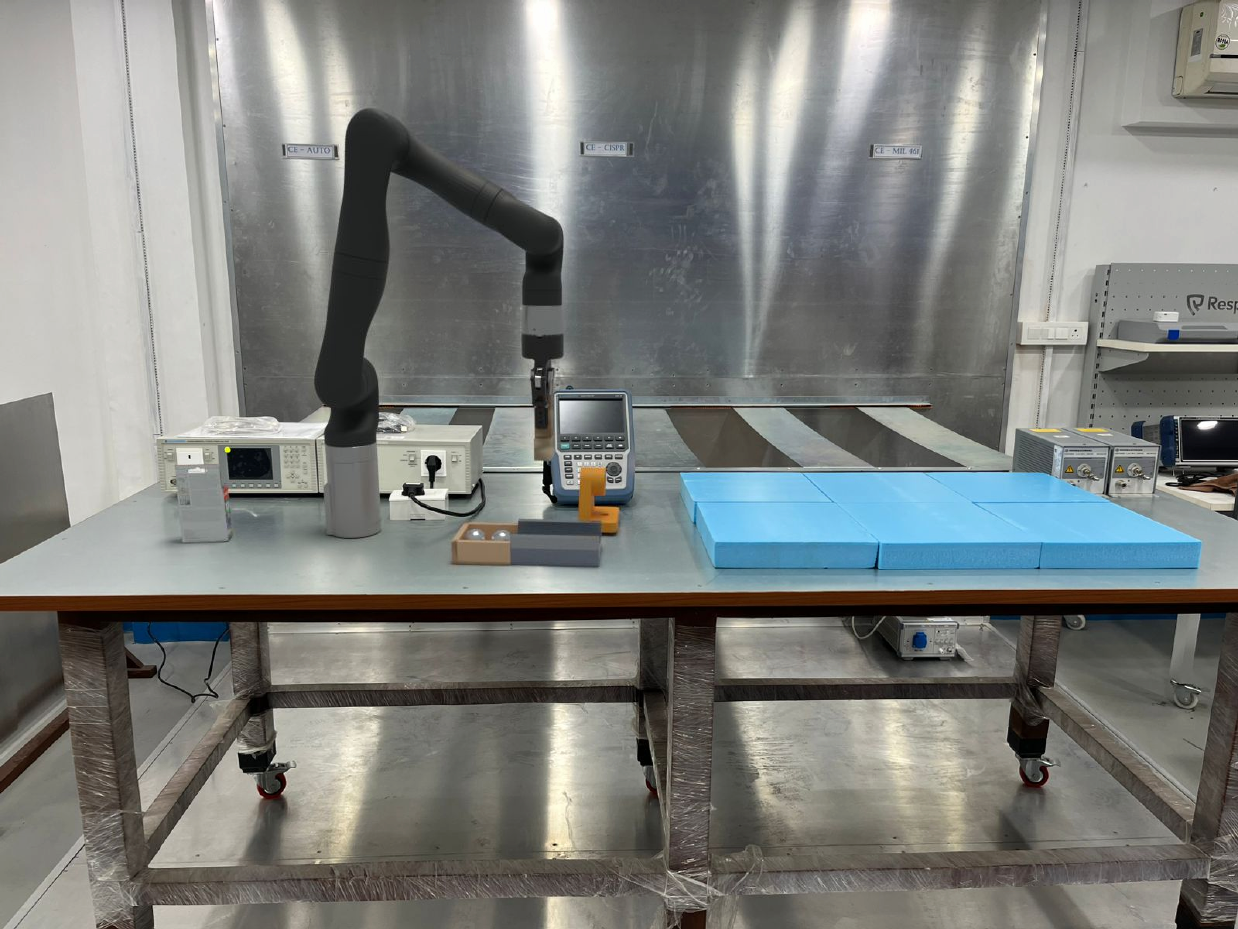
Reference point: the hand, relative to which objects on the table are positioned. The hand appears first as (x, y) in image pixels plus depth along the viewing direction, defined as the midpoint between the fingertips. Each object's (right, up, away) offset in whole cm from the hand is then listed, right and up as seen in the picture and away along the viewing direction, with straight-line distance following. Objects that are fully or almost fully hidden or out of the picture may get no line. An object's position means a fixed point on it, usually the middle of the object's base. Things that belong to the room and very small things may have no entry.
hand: (543, 425), depth 153 cm
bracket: (+10, -20, +11) cm, 25 cm away
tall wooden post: (0, -6, +1) cm, 6 cm away
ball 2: (-8, -21, -5) cm, 24 cm away
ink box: (-61, -21, +1) cm, 65 cm away
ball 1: (-13, -22, -5) cm, 26 cm away
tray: (-10, -23, -5) cm, 25 cm away
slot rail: (+3, -23, -5) cm, 24 cm away
